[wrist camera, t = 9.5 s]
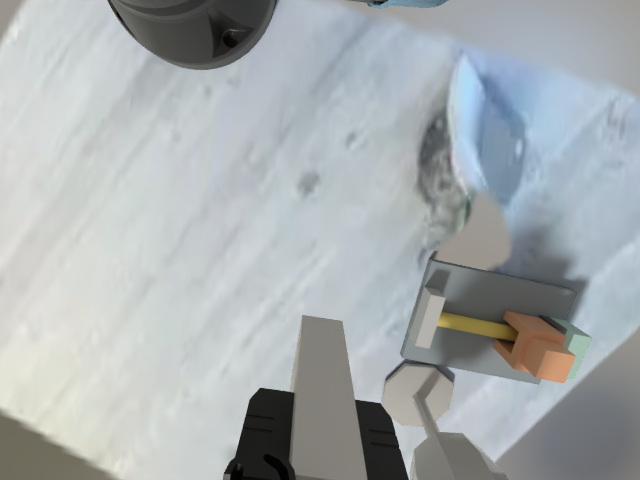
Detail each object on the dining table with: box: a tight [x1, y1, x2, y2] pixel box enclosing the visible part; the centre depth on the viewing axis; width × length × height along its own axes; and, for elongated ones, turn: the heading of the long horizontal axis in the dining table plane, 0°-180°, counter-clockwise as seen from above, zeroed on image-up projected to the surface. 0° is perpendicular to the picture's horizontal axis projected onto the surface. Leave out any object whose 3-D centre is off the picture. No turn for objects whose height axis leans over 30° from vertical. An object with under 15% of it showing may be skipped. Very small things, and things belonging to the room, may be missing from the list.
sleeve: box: [493, 311, 576, 383], centre depth 37 cm, size 5×4×7 cm
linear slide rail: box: [400, 259, 592, 384], centre depth 39 cm, size 12×17×5 cm
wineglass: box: [381, 363, 508, 480], centre depth 33 cm, size 9×9×21 cm
